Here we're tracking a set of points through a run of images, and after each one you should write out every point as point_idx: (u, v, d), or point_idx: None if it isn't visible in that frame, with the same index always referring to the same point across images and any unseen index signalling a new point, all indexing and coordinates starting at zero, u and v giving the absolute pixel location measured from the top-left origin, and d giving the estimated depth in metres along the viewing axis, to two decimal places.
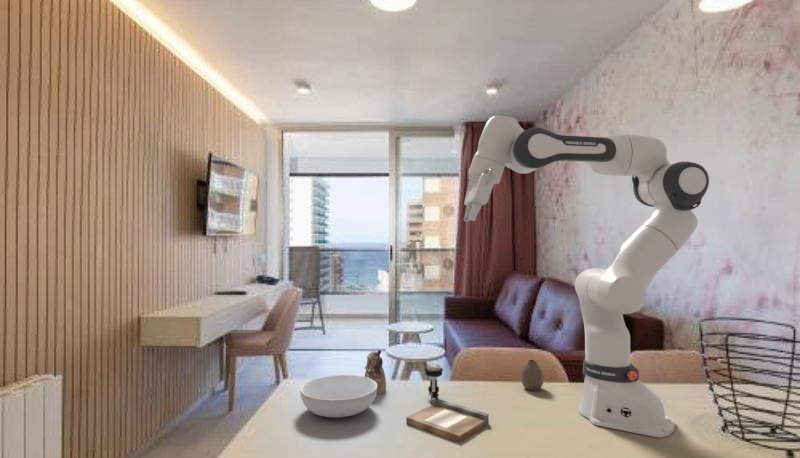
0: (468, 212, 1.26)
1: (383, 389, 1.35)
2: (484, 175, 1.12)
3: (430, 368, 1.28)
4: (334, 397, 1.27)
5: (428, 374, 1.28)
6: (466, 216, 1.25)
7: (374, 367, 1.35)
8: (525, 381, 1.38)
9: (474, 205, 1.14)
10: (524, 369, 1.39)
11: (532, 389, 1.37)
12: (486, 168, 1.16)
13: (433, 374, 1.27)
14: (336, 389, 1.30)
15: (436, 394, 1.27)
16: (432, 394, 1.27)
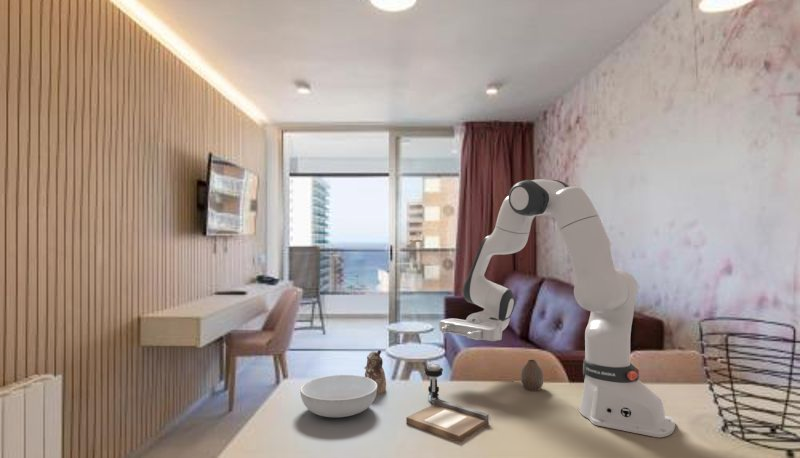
0: None
1: (383, 389, 1.35)
2: None
3: (430, 368, 1.28)
4: (334, 397, 1.27)
5: (428, 374, 1.28)
6: None
7: (374, 367, 1.35)
8: (525, 381, 1.38)
9: None
10: (524, 369, 1.39)
11: (532, 389, 1.37)
12: None
13: (433, 374, 1.27)
14: (336, 389, 1.30)
15: (436, 394, 1.27)
16: (432, 394, 1.27)
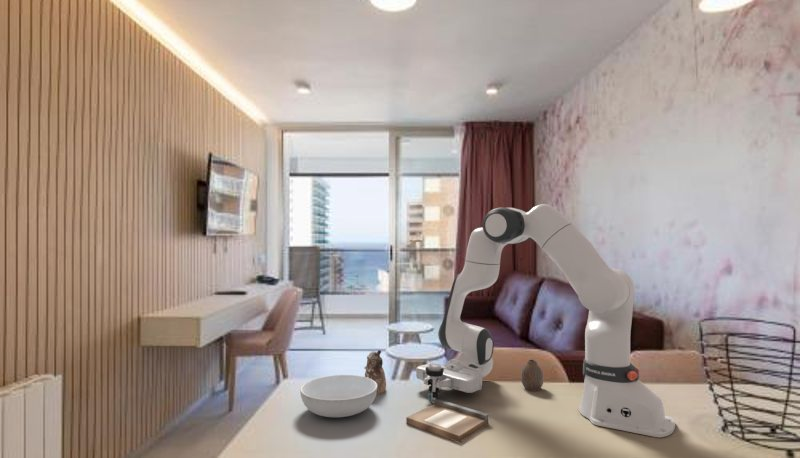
0: None
1: (383, 389, 1.35)
2: None
3: (431, 368, 1.28)
4: (334, 397, 1.27)
5: (429, 374, 1.28)
6: None
7: (374, 367, 1.35)
8: (525, 381, 1.38)
9: None
10: (524, 369, 1.39)
11: (532, 389, 1.37)
12: None
13: (434, 374, 1.27)
14: (336, 389, 1.30)
15: (436, 394, 1.27)
16: (432, 394, 1.27)
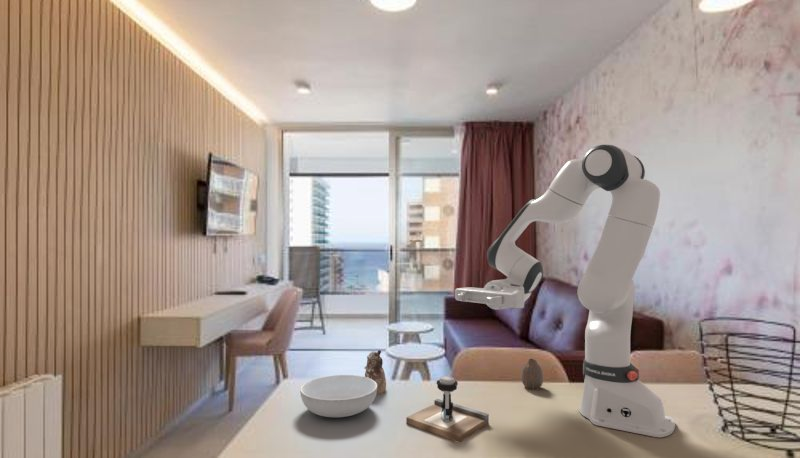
0: None
1: (383, 389, 1.35)
2: None
3: (443, 381, 1.12)
4: (334, 397, 1.27)
5: (441, 388, 1.11)
6: None
7: (374, 367, 1.35)
8: (523, 379, 1.39)
9: None
10: (523, 367, 1.41)
11: (530, 388, 1.38)
12: None
13: (447, 388, 1.11)
14: (336, 389, 1.30)
15: (450, 411, 1.11)
16: (445, 411, 1.11)
